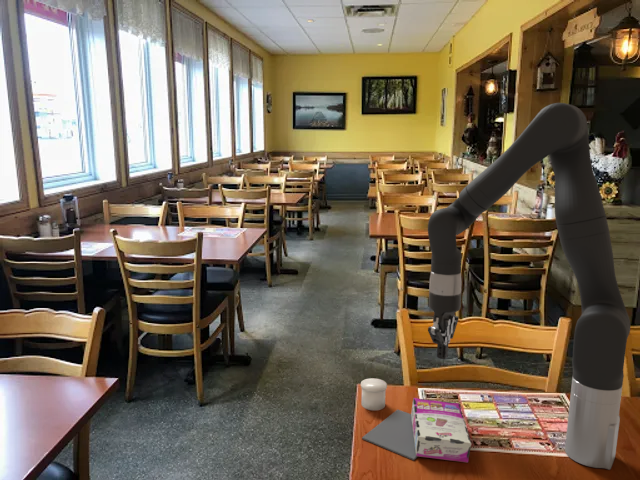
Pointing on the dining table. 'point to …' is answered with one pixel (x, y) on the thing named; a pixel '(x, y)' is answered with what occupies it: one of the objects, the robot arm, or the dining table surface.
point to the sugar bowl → (373, 394)
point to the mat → (394, 434)
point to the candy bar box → (440, 430)
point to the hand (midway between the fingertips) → (442, 357)
